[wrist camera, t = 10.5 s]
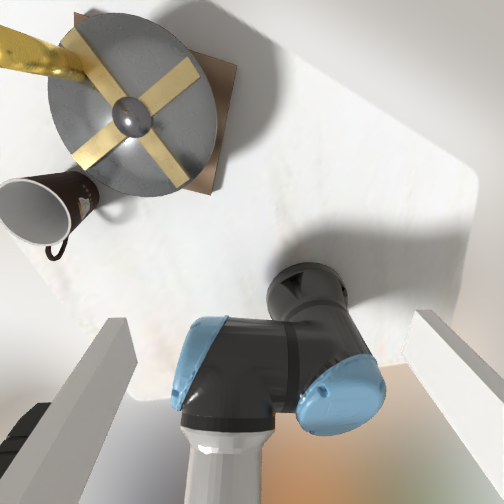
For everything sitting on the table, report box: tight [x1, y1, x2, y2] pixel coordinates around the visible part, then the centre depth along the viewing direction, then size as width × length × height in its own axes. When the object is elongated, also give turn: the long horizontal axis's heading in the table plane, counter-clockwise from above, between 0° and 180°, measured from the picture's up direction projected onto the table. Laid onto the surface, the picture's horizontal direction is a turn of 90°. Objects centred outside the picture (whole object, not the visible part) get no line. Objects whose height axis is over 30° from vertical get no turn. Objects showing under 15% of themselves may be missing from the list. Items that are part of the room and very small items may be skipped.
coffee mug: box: [0, 171, 99, 261], centre depth 37 cm, size 12×9×10 cm
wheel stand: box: [74, 12, 237, 195], centre depth 34 cm, size 17×19×6 cm
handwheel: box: [0, 13, 217, 197], centre depth 26 cm, size 18×18×12 cm
